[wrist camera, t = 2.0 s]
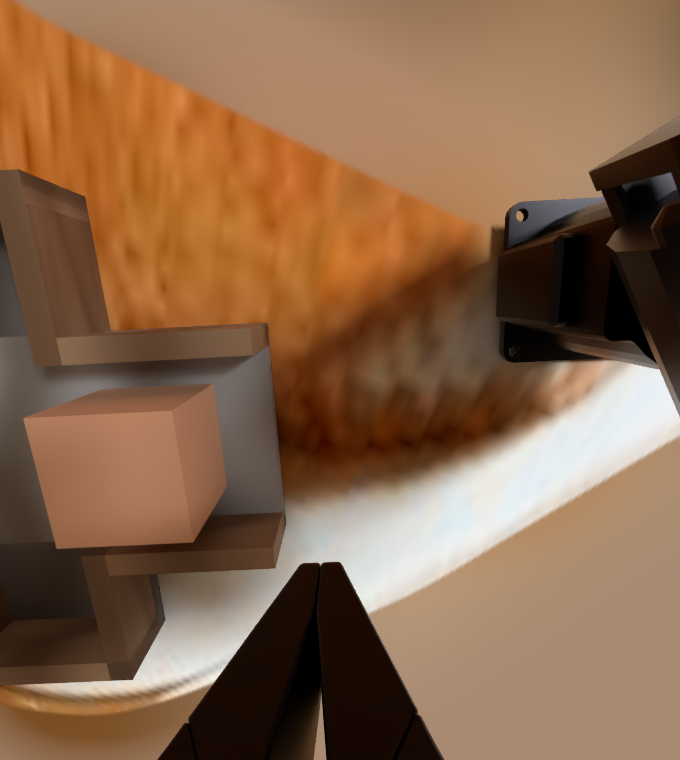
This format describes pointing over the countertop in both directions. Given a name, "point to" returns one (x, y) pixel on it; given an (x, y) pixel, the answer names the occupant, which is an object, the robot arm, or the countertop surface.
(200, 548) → the trap lane
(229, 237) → the countertop surface
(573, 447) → the countertop surface
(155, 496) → the block
